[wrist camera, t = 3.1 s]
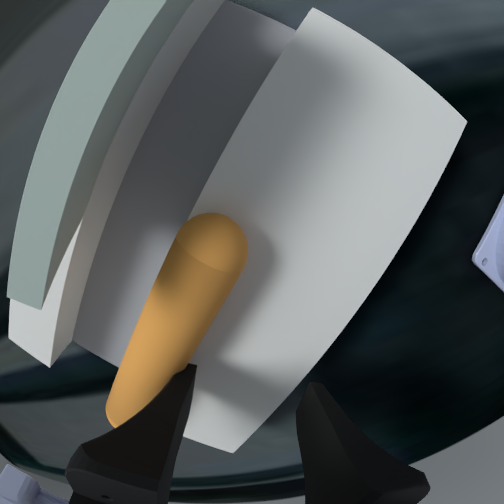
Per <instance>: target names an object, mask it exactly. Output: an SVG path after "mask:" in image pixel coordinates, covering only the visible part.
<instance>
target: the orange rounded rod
mask: <svg viewBox="0 0 504 504" xmlns="http://www.w3.org/2000/svg"><path fill="white" fill-rule="evenodd" d="M247 258H248V243H247V239H246V236H245V234H244V232H243V230H242V229H241V228H240V226H239V225H238V224H237V223H236V222H235V221H233V220H232V219H231V218H229V217H227V216H225V215H221V214H218V213H204V214H199V215H197V216H195V217H192V218H191V219H190V220H188V221H187V222H186V223H185V224H184V225H183V226H182V227H181V228H180V229H179V231H178V233H177V235H176V237H175V239H174V241H173V243H172V245H171V247H170V249H169V251H168V254H167V256H166V258H165V260H164V262H163V264H162V267H161V269H160V271H159V273H158V275H157V278H156V280H155V282H154V284H153V287H152V289H151V291H150V293H149V296H148V298H147V300H146V303H145V305H144V307H143V310H142V312H141V314H140V317H139V319H138V322H137V324H136V327H135V329H134V331H133V334H132V336H131V339H130V341H129V344H128V346H127V349H126V352H125V354H124V357H123V359H122V362H121V365H120V367H119V370H118V372H117V375H116V378H115V381H114V383H113V386H112V389H111V392H110V394H109V397H108V400H107V403H106V414H107V418H108V420H109V422H110V423H111V424H112V426H113V427H114V428H116V427H118V426H120V425H121V424H123V423H124V422H126V421H127V420H128V419H130V418H131V417H133V416H134V415H135V414H137V413H138V412H139V411H140V410H142V409H143V408H144V407H145V406H146V405H147V404H148V403H149V402H150V401H151V400H152V399H153V398H154V397H155V396H156V395H157V394H158V393H159V392H160V391H161V390H162V389H163V388H164V386H165V385H166V384H167V383H168V382H169V380H170V379H171V378H172V376H173V375H174V374H176V373H178V372H180V371H182V370H184V369H185V368H186V366H187V364H188V363H189V361H190V359H191V358H192V356H193V354H194V353H195V351H196V349H197V347H198V346H199V344H200V342H201V341H202V339H203V337H204V336H205V334H206V332H207V330H208V329H209V327H210V325H211V324H212V322H213V320H214V319H215V317H216V315H217V314H218V312H219V310H220V308H221V307H222V305H223V303H224V302H225V300H226V298H227V297H228V295H229V293H230V291H231V290H232V288H233V286H234V285H235V283H236V281H237V280H238V278H239V276H240V274H241V273H242V271H243V269H244V267H245V265H246V262H247Z"/></svg>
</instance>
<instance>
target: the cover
mask: <svg viewBox="0 0 504 504" xmlns="http://www.w3.org/2000/svg"><path fill="white" fill-rule="evenodd" d="M193 1H194V0H110V2H109V3H108V5H107V6H106V7H105V9H104V10H103V12H102V13H101V15H100V17H99V18H98V20H97V21H96V23H95V24H94V26H93V28H92V29H91V31H90V33H89V34H88V36H87V38H86V39H85V41H84V43H83V45H82V46H81V48H80V50H79V52H78V54H77V56H76V57H75V59H74V61H73V63H72V65H71V67H70V69H69V71H68V73H67V75H66V77H65V79H64V81H63V83H62V86H61V88H60V90H59V92H58V94H57V97H56V99H55V101H54V104H53V106H52V108H51V111H50V113H49V116H48V118H47V121H46V123H45V126H44V129H43V131H42V134H41V137H40V140H39V143H38V145H37V148H36V151H35V155H34V158H33V161H32V164H31V167H30V171H29V174H28V178H27V182H26V185H25V189H24V193H23V197H22V201H21V206H20V210H19V215H18V219H17V224H16V230H15V235H14V241H13V247H12V254H11V261H10V269H9V278H8V289H7V297H8V298H11V299H13V300H16V301H18V302H21V303H23V304H26V305H28V306H31V307H33V308H36V309H39V310H42V307H43V304H44V302H45V299H46V297H47V294H48V292H49V289H50V287H51V284H52V282H53V279H54V277H55V275H56V272H57V270H58V268H59V266H60V263H61V261H62V259H63V257H64V255H65V253H66V250H67V248H68V246H69V244H70V242H71V240H72V238H73V236H74V234H75V232H76V230H77V228H78V226H79V224H80V222H81V220H82V218H83V215H84V212H85V209H86V206H87V203H88V200H89V198H90V195H91V192H92V189H93V187H94V184H95V181H96V179H97V176H98V174H99V171H100V168H101V166H102V164H103V161H104V159H105V156H106V154H107V152H108V149H109V147H110V145H111V142H112V140H113V138H114V136H115V134H116V131H117V129H118V127H119V125H120V123H121V121H122V119H123V117H124V115H125V112H126V110H127V108H128V106H129V105H130V103H131V101H132V99H133V97H134V95H135V93H136V91H137V89H138V87H139V86H140V84H141V82H142V80H143V78H144V76H145V75H146V73H147V71H148V69H149V68H150V66H151V64H152V63H153V61H154V59H155V58H156V56H157V54H158V53H159V51H160V49H161V48H162V46H163V45H164V43H165V41H166V40H167V38H168V37H169V35H170V34H171V32H172V31H173V29H174V28H175V26H176V25H177V23H178V22H179V20H180V19H181V18H182V16H183V15H184V13H185V12H186V10H187V9H188V8H189V6H190V5H191V4H192V2H193Z"/></svg>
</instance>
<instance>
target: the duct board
mask: <svg viewBox="0 0 504 504" xmlns="http://www.w3.org/2000/svg"><path fill="white" fill-rule="evenodd" d="M466 123H467V121H466V120H465V119H464V118H463V117H462V116H461V115H460V114H459V113H458V112H457V111H456V110H455V109H454V108H453V107H452V106H451V105H450V104H449V103H448V102H447V101H446V100H445V99H443V98H442V97H441V96H440V95H439V94H438V93H437V92H436V91H435V90H433V89H432V88H431V87H430V86H429V85H428V84H426V83H425V82H424V81H423V80H422V79H420V78H419V77H418V76H417V75H416V74H414V73H413V72H412V71H411V70H409V69H408V68H407V67H406V66H404V65H403V64H402V63H400V62H399V61H398V60H396V59H395V58H394V57H392V56H391V55H389V54H388V53H387V52H385V51H384V50H382V49H381V48H380V47H378V46H377V45H375V44H374V43H372V42H371V41H369V40H368V39H366V38H365V37H363V36H362V35H360V34H358V33H357V32H355V31H354V30H352V29H350V28H349V27H347V26H345V25H344V24H342V23H340V22H339V21H337V20H335V19H333V18H332V17H330V16H328V15H326V14H324V13H322V12H321V11H319V10H317V9H315V8H312V9H311V10H310V12H309V13H308V15H307V16H306V18H305V19H304V20H303V22H302V23H301V25H300V26H299V28H298V29H297V31H296V30H294V29H292V28H290V27H288V26H286V25H284V24H282V23H280V22H278V21H275V20H273V19H271V18H269V17H267V16H264V15H262V14H260V13H257V12H255V11H253V10H250V9H248V8H245V7H243V6H240V5H238V4H235V3H233V2H230V1H227V0H194V1H193V2H192V4H191V5H190V6H189V8H188V9H187V10H186V12H185V13H184V15H183V16H182V18H181V19H180V20H179V22H178V23H177V25H176V26H175V28H174V29H173V31H172V32H171V34H170V35H169V37H168V38H167V40H166V41H165V43H164V45H163V46H162V48H161V49H160V51H159V53H158V54H157V56H156V58H155V59H154V61H153V63H152V64H151V66H150V68H149V69H148V71H147V73H146V75H145V76H144V78H143V80H142V82H141V84H140V86H139V87H138V89H137V91H136V93H135V95H134V97H133V99H132V101H131V103H130V105H129V106H128V108H127V110H126V112H125V115H124V117H123V119H122V121H121V123H120V125H119V127H118V129H117V131H116V134H115V136H114V138H113V140H112V142H111V145H110V147H109V149H108V152H107V154H106V156H105V159H104V161H103V164H102V166H101V168H100V171H99V174H98V176H97V179H96V181H95V184H94V187H93V189H92V192H91V195H90V198H89V200H88V203H87V206H86V209H85V212H84V215H83V218H82V220H81V222H80V224H79V226H78V228H77V230H76V232H75V234H74V236H73V238H72V240H71V242H70V244H69V246H68V248H67V250H66V253H65V255H64V257H63V259H62V261H61V263H60V266H59V268H58V270H57V272H56V275H55V277H54V279H53V282H52V284H51V287H50V289H49V292H48V294H47V297H46V299H45V302H44V304H43V307H42V310H39V309H36V308H33V307H31V306H28V305H26V304H23V303H21V302H18V301H16V300H13V299H10V314H9V339H11V340H12V341H13V342H15V343H16V344H17V345H19V346H20V347H21V348H23V349H24V350H25V351H27V352H28V353H29V354H31V355H32V356H34V357H35V358H36V359H38V360H39V361H41V362H42V363H44V364H45V365H47V366H48V367H51V366H52V364H53V363H54V362H55V361H56V359H57V358H58V357H59V355H60V354H61V353H62V352H63V350H64V349H65V348H66V347H67V346H68V344H69V343H70V342H71V341H74V342H76V343H77V344H79V345H80V346H82V347H84V348H85V349H87V350H89V351H90V352H92V353H94V354H96V355H97V356H99V357H101V358H103V359H104V360H106V361H108V362H110V363H112V364H114V365H115V366H117V367H120V365H121V362H122V359H123V357H124V354H125V352H126V349H127V346H128V344H129V341H130V339H131V336H132V334H133V331H134V329H135V327H136V324H137V322H138V319H139V317H140V314H141V312H142V310H143V307H144V305H145V303H146V300H147V298H148V296H149V293H150V291H151V289H152V287H153V284H154V282H155V280H156V278H157V275H158V273H159V271H160V269H161V267H162V264H163V262H164V260H165V258H166V256H167V254H168V251H169V249H170V247H171V245H172V243H173V241H174V239H175V237H176V235H177V233H178V231H179V229H180V228H181V227H182V226H183V225H184V224H185V223H186V222H187V221H188V220H190V219H191V218H192V217H195V216H197V215H199V214H204V213H218V214H221V215H225V216H227V217H229V218H231V219H232V220H233V221H235V222H236V223H237V224H238V225H239V226H240V228H241V229H242V230H243V232H244V234H245V236H246V239H247V243H248V258H247V262H246V265H245V267H244V269H243V271H242V273H241V274H240V276H239V278H238V280H237V281H236V283H235V285H234V286H233V288H232V290H231V291H230V293H229V295H228V297H227V298H226V300H225V302H224V303H223V305H222V307H221V308H220V310H219V312H218V314H217V315H216V317H215V319H214V320H213V322H212V324H211V325H210V327H209V329H208V330H207V332H206V334H205V336H204V337H203V339H202V341H201V342H200V344H199V346H198V347H197V349H196V351H195V353H194V354H193V356H192V358H191V359H190V361H189V363H190V364H195V365H197V371H196V377H195V384H194V391H193V398H192V403H191V408H190V413H189V418H188V421H187V424H186V427H185V431H184V434H183V436H184V437H187V438H189V439H192V440H195V441H198V442H200V443H203V444H206V445H209V446H212V447H215V448H218V449H221V450H224V451H227V452H231V453H233V452H234V451H235V450H237V449H238V448H239V447H240V446H241V445H242V444H243V443H244V442H245V441H246V440H247V439H248V438H249V437H250V436H251V435H252V434H253V433H254V432H255V431H256V430H257V429H258V428H259V427H260V426H261V425H262V423H263V422H264V421H265V420H266V419H267V418H268V417H269V416H270V415H271V414H272V413H273V412H274V411H275V410H276V409H277V408H278V406H279V405H280V404H281V403H282V402H283V401H284V400H285V399H286V398H287V397H288V395H289V394H290V393H291V392H292V391H293V390H294V389H295V388H296V386H297V385H298V384H299V383H300V382H301V381H302V379H303V378H304V377H305V376H306V375H307V374H308V372H309V371H310V370H311V369H312V368H313V366H314V365H315V364H316V363H317V362H318V360H319V359H320V358H321V357H322V356H323V354H324V353H325V352H326V351H327V349H328V348H329V347H330V346H331V344H332V343H333V342H334V340H335V339H336V338H337V337H338V335H339V334H340V333H341V331H342V330H343V329H344V327H345V326H346V325H347V324H348V322H349V321H350V320H351V318H352V317H353V315H354V314H355V313H356V311H357V310H358V309H359V307H360V306H361V304H362V303H363V302H364V300H365V299H366V297H367V296H368V295H369V293H370V292H371V290H372V289H373V288H374V286H375V285H376V283H377V282H378V280H379V279H380V277H381V276H382V274H383V273H384V271H385V270H386V268H387V267H388V265H389V264H390V262H391V261H392V259H393V258H394V256H395V254H396V253H397V251H398V250H399V248H400V247H401V245H402V243H403V242H404V240H405V239H406V237H407V235H408V234H409V232H410V230H411V229H412V227H413V225H414V224H415V222H416V220H417V219H418V217H419V215H420V213H421V212H422V210H423V208H424V206H425V205H426V203H427V201H428V199H429V197H430V196H431V194H432V192H433V190H434V188H435V186H436V185H437V183H438V181H439V179H440V177H441V175H442V173H443V171H444V169H445V167H446V165H447V163H448V161H449V159H450V157H451V155H452V153H453V151H454V149H455V147H456V145H457V143H458V141H459V138H460V136H461V134H462V132H463V130H464V127H465V125H466Z"/></svg>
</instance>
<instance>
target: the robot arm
mask: <svg viewBox="0 0 504 504" xmlns="http://www.w3.org/2000/svg"><path fill="white" fill-rule="evenodd" d="M483 259H484V261H483ZM472 261H473V263H474V264H475V265H476V266H477V267H478V268H479V269H480V270H481V271H483V272H484V273H485V274H486V275H487V276H488V277H489V278H490V279H491V280H492V281H493V282H494V283H495V284H496V285H497V286H498V287H499V288H500V289H501V290H502V291H503V292H504V195H503V197H502V199H501V201H500V204H499V206H498V208H497V210H496V212H495V214H494V216H493V218H492V220H491V222H490V224H489V226H488V228H487V230H486V231H485V233H484V235H483V237H482V239H481V241H480V243H479V244H478V246H477V248H476V250H475V251H474V253H473V256H472ZM482 261H483V263H482ZM196 371H197V365H195V364H190V363H188V364H187V366H186V368H185V369H184V370H182V371H180V372H178V373H176V374H174V375H173V376H172V378H171V379H170V380H169V382H168V383H167V384H166V385H165V386H164V388H163V389H162V390H161V391H160V392H159V393H158V394H157V395H156V396H155V397H154V398H153V399H152V400H151V401H150V402H149V403H148V404H147V405H146V406H145V407H144V408H143V409H142V410H140V411H139V412H138V413H137V414H135V415H134V416H133V417H131V418H130V419H128V420H127V421H126V422H124V423H123V424H121V425H120V426H118V427H116V428H114V429H113V430H111V431H109V432H107V433H105V434H104V435H102V436H100V437H97V438H95V439H93V440H90V441H88V442H85V443H83V444H81V445H80V446H79V447H78V449H77V450H76V451H75V453H74V454H73V456H72V457H71V459H70V461H69V464H68V466H67V468H66V470H65V476H66V478H67V480H68V482H69V484H70V485H71V487H72V489H73V494H72V496H71V499H70V501H67V500H65V499H63V498H61V497H58V496H56V495H54V494H52V493H50V492H48V491H46V490H44V489H42V488H40V486H39V484H38V482H36V481H35V480H34V479H33V478H32V477H30V476H29V475H27V474H25V473H24V472H22V471H20V470H18V469H16V468H15V467H13V466H11V465H10V464H7V465H6V466H5V468H4V470H3V472H2V473H1V475H0V504H168V499H169V493H170V487H171V482H172V476H173V471H174V465H175V461H176V457H177V453H178V450H179V447H180V443H181V440H182V437H183V434H184V431H185V427H186V424H187V421H188V418H189V413H190V408H191V403H192V398H193V391H194V384H195V377H196ZM296 427H297V436H298V441H299V447H300V452H301V458H302V463H303V469H304V477H305V504H417V503H418V502H419V501H421V500H422V499H423V498H424V497H425V496H426V495H427V494H428V492H429V491H430V486H429V483H428V481H427V478H426V476H425V474H424V472H421V471H419V470H417V469H415V468H413V467H411V466H408V465H406V464H405V463H403V462H401V461H399V460H398V459H396V458H394V457H393V456H391V455H390V454H388V453H387V452H386V451H384V450H383V449H381V448H380V447H379V446H377V445H376V444H375V443H374V442H373V441H371V440H370V439H369V438H368V437H367V436H366V435H365V434H364V433H363V432H362V431H361V430H360V429H359V428H358V427H357V426H356V425H355V424H354V423H353V422H352V421H351V419H350V418H349V417H348V416H347V415H346V414H345V412H344V411H343V410H342V409H341V407H340V406H339V405H338V404H337V402H336V401H335V400H334V398H333V397H332V396H331V394H330V393H329V391H328V390H327V389H326V387H325V386H324V385H323V384H322V383H317V382H309V384H308V386H307V388H306V391H305V393H304V395H303V397H302V400H301V402H300V404H299V406H298V408H297V411H296Z"/></svg>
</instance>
